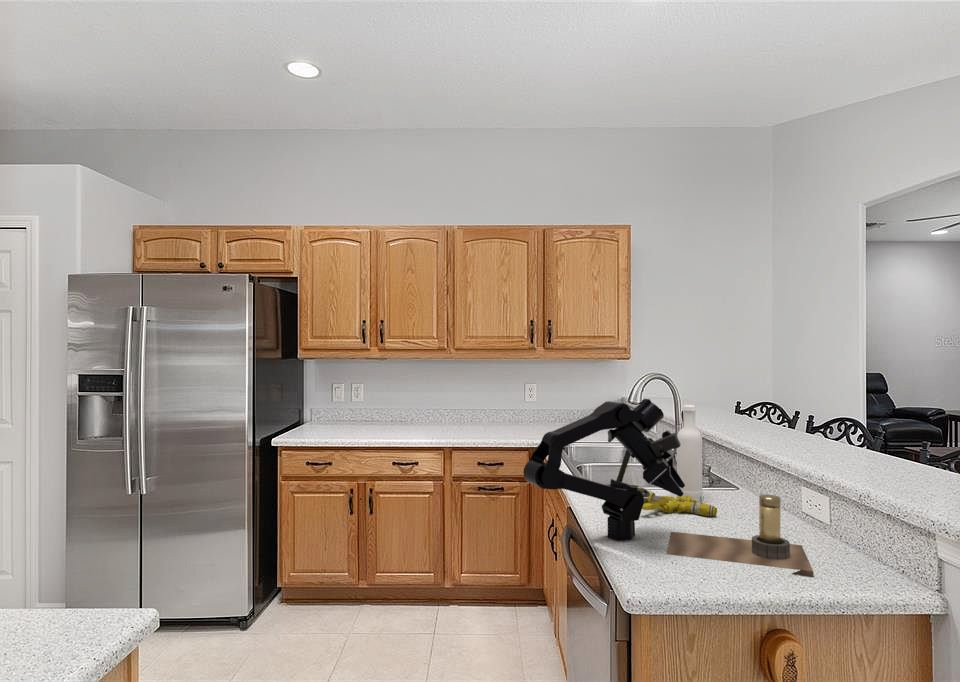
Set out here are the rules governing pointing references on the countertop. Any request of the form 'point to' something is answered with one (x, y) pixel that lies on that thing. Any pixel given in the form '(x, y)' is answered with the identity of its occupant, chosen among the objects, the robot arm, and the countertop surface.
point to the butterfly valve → (641, 489)
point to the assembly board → (741, 551)
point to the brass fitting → (769, 519)
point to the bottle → (690, 455)
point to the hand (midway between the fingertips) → (683, 491)
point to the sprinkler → (679, 505)
